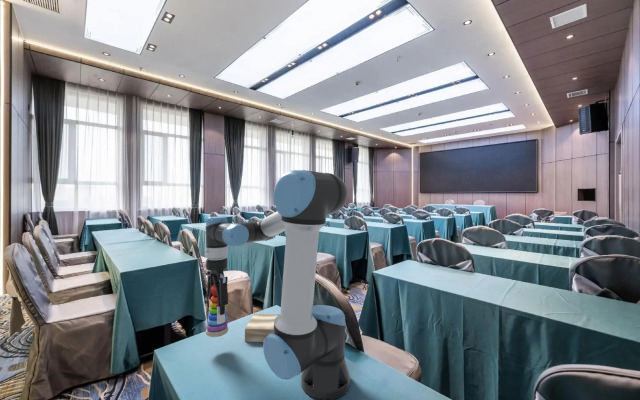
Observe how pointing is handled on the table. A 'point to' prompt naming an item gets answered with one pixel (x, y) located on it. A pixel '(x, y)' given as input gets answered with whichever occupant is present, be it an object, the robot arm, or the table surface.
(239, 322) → the table surface
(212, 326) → the stacking toy
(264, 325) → the plinth
